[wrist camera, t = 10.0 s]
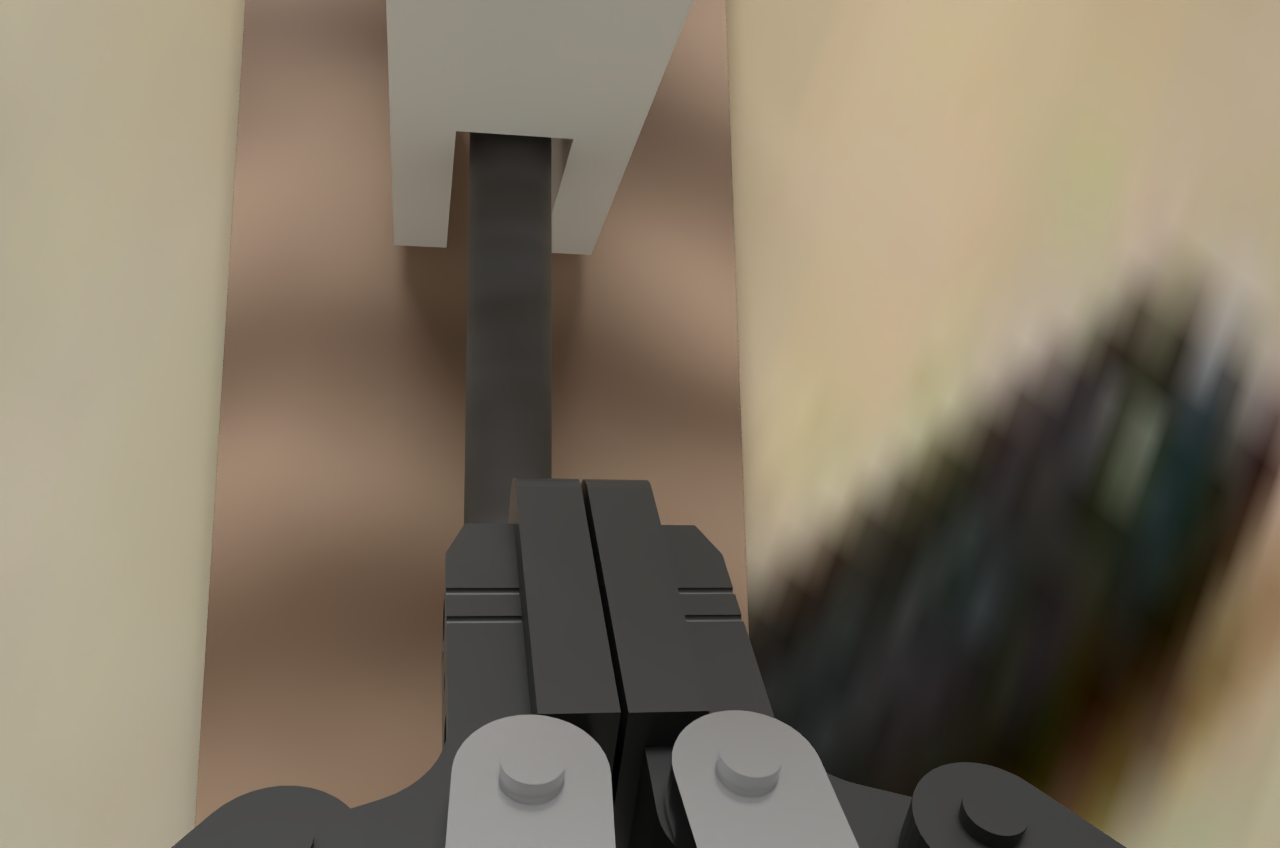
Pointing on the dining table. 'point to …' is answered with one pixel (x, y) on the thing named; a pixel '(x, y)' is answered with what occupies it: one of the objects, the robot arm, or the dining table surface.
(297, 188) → the cord stand
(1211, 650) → the dining table surface
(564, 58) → the white slider block
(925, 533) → the dining table surface
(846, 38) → the dining table surface
